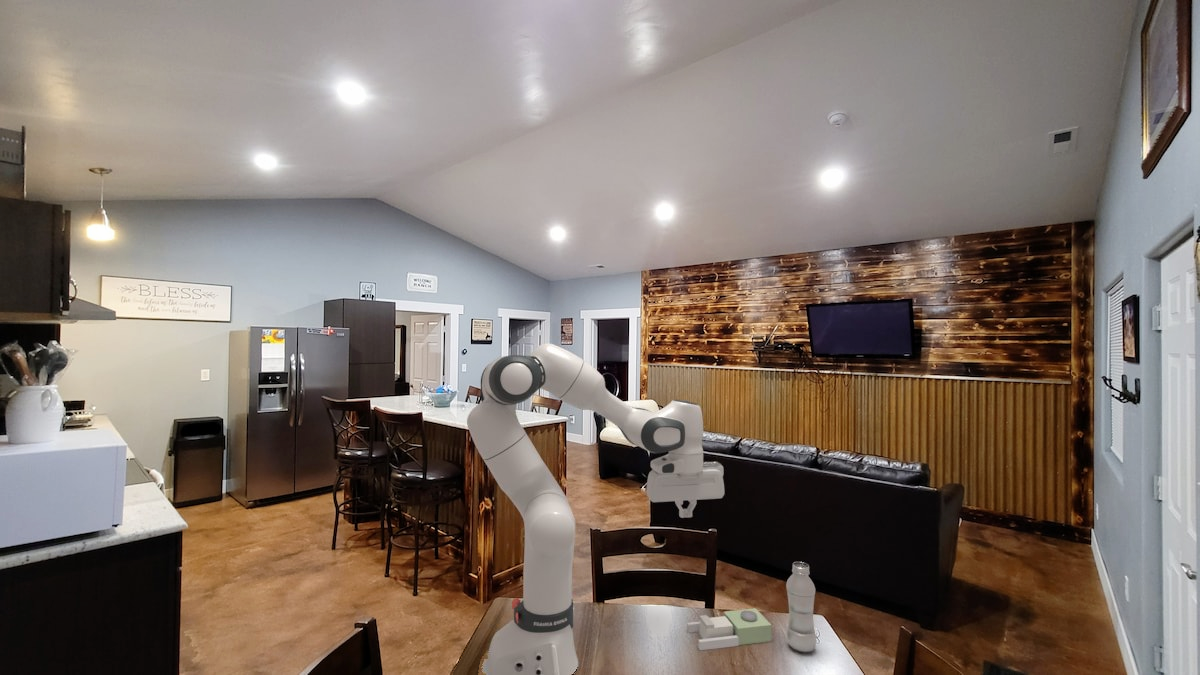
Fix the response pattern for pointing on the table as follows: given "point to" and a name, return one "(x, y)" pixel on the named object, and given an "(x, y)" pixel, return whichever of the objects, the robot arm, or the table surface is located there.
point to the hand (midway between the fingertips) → (685, 516)
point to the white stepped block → (714, 627)
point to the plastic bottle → (801, 609)
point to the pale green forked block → (738, 630)
